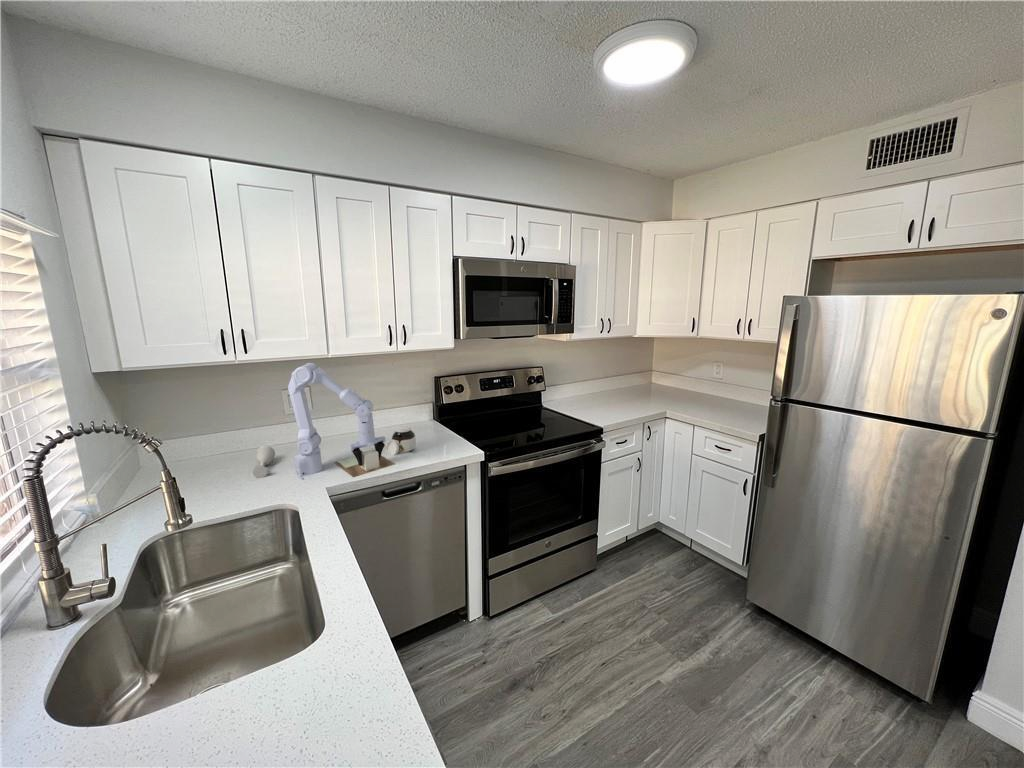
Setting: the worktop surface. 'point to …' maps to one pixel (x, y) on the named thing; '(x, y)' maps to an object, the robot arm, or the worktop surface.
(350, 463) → the sage pad
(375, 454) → the rounded beige cube
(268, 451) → the chalice
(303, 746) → the worktop surface
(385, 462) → the walnut board
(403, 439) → the spread jar
